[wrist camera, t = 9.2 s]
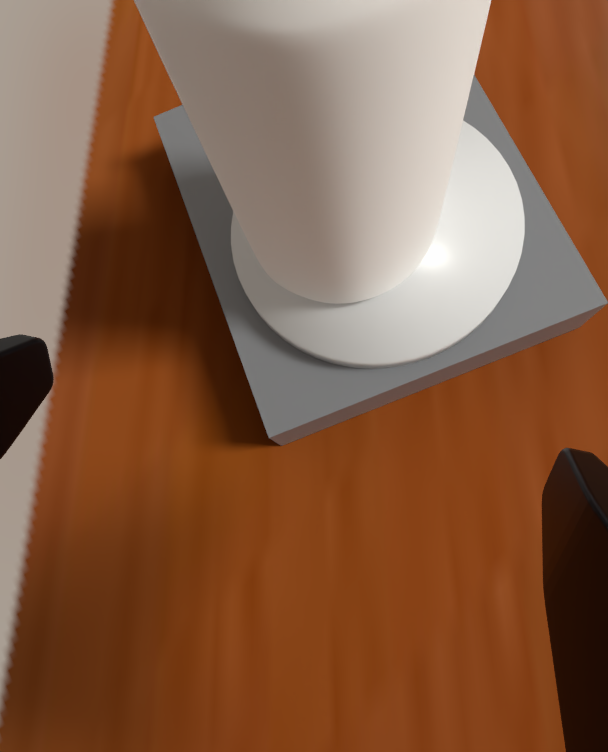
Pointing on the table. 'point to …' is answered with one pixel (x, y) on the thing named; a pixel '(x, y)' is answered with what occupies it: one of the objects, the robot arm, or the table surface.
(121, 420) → the table surface
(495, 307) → the scale
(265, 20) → the can
